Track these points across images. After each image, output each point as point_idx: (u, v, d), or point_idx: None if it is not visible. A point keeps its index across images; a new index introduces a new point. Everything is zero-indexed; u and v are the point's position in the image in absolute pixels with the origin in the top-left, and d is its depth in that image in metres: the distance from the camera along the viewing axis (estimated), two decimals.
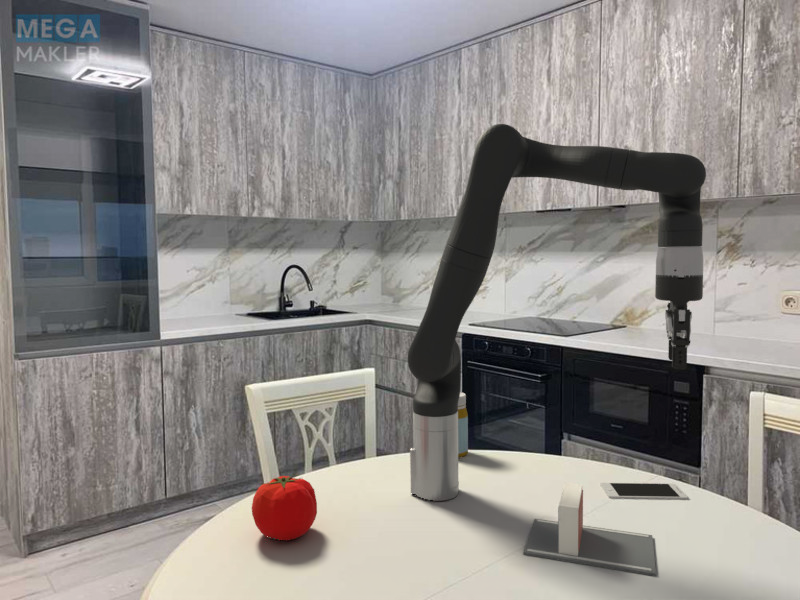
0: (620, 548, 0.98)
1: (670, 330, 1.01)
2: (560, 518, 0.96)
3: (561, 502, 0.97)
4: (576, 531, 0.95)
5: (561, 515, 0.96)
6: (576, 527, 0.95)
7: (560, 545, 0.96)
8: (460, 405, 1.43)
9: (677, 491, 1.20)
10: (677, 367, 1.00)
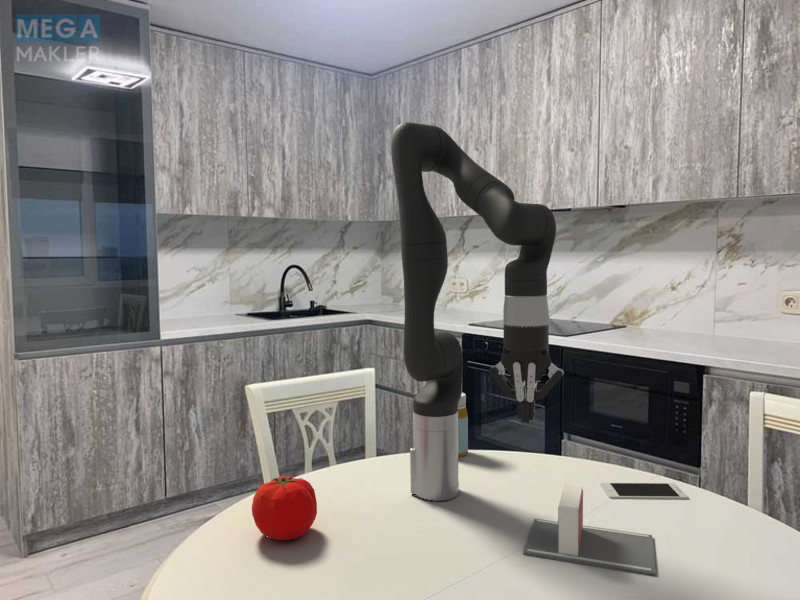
0: (620, 548, 0.98)
1: (534, 387, 0.99)
2: (560, 518, 0.96)
3: (561, 502, 0.97)
4: (576, 531, 0.95)
5: (561, 515, 0.96)
6: (576, 527, 0.95)
7: (560, 545, 0.96)
8: (460, 405, 1.43)
9: (677, 491, 1.20)
10: (530, 420, 1.01)
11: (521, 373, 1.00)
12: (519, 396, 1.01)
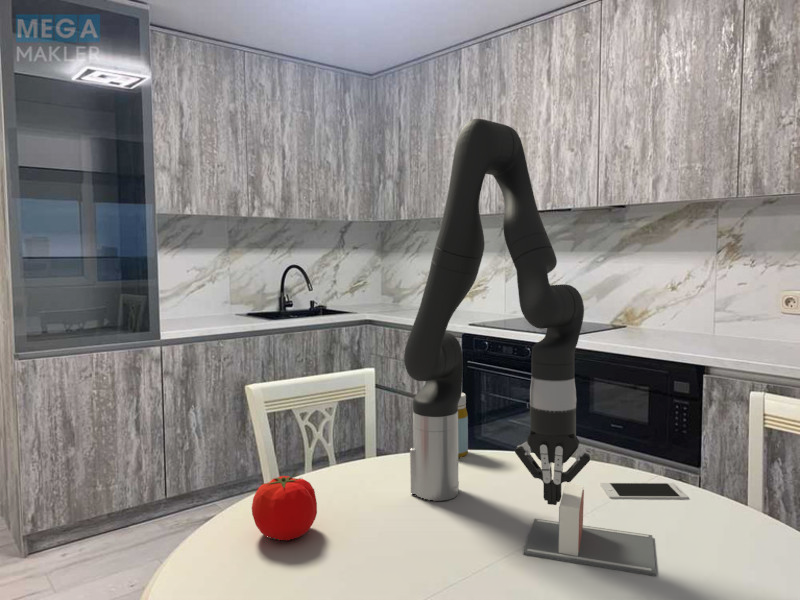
0: (620, 548, 0.98)
1: (561, 469, 0.99)
2: (561, 518, 0.96)
3: (562, 502, 0.97)
4: (577, 531, 0.95)
5: (562, 515, 0.96)
6: (577, 527, 0.95)
7: (560, 545, 0.96)
8: (460, 405, 1.43)
9: (677, 491, 1.21)
10: (556, 502, 1.00)
11: (548, 455, 0.99)
12: (546, 478, 1.00)
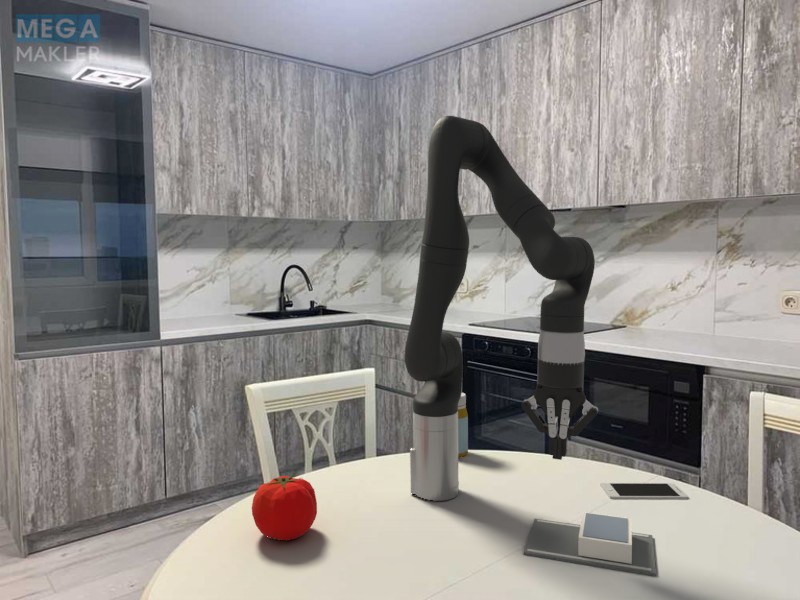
0: None
1: (568, 423, 0.98)
2: (617, 544, 0.93)
3: (631, 543, 0.94)
4: (605, 558, 0.94)
5: (620, 546, 0.93)
6: (609, 559, 0.94)
7: (587, 540, 0.95)
8: (460, 405, 1.43)
9: (677, 490, 1.21)
10: (561, 457, 1.00)
11: (554, 409, 0.98)
12: (552, 432, 0.99)
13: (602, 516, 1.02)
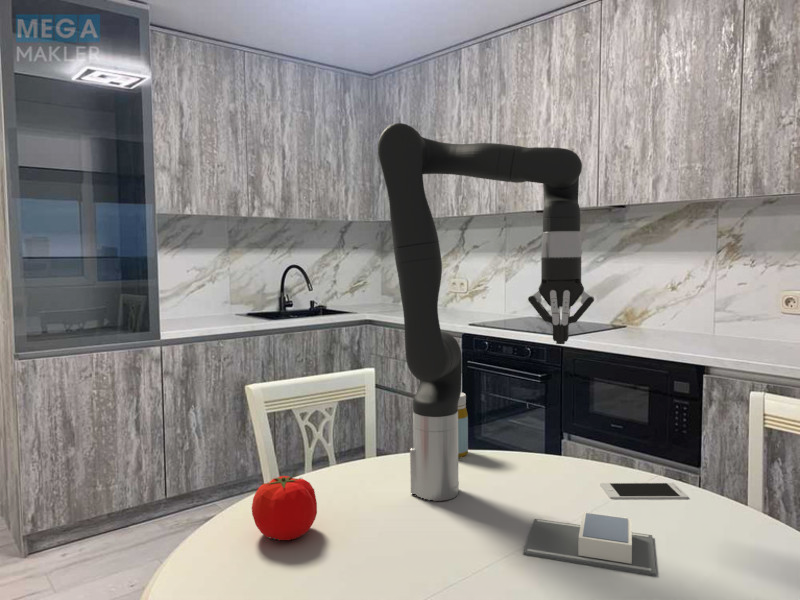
0: None
1: (568, 311, 1.14)
2: (617, 544, 0.93)
3: (631, 543, 0.94)
4: (605, 558, 0.94)
5: (620, 546, 0.93)
6: (609, 559, 0.94)
7: (587, 540, 0.95)
8: (460, 405, 1.43)
9: (677, 490, 1.21)
10: (564, 342, 1.16)
11: (557, 300, 1.15)
12: (555, 320, 1.15)
13: (602, 516, 1.02)
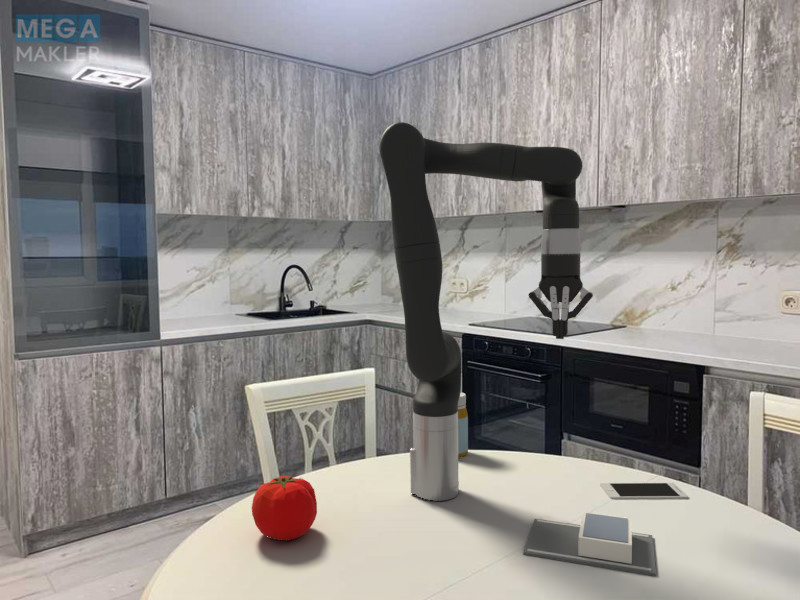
0: None
1: (568, 307, 1.17)
2: (617, 544, 0.93)
3: (631, 543, 0.94)
4: (605, 558, 0.94)
5: (620, 546, 0.93)
6: (609, 559, 0.94)
7: (587, 540, 0.95)
8: (460, 405, 1.43)
9: (677, 490, 1.21)
10: (563, 337, 1.19)
11: (556, 296, 1.17)
12: (554, 315, 1.18)
13: (602, 516, 1.02)
